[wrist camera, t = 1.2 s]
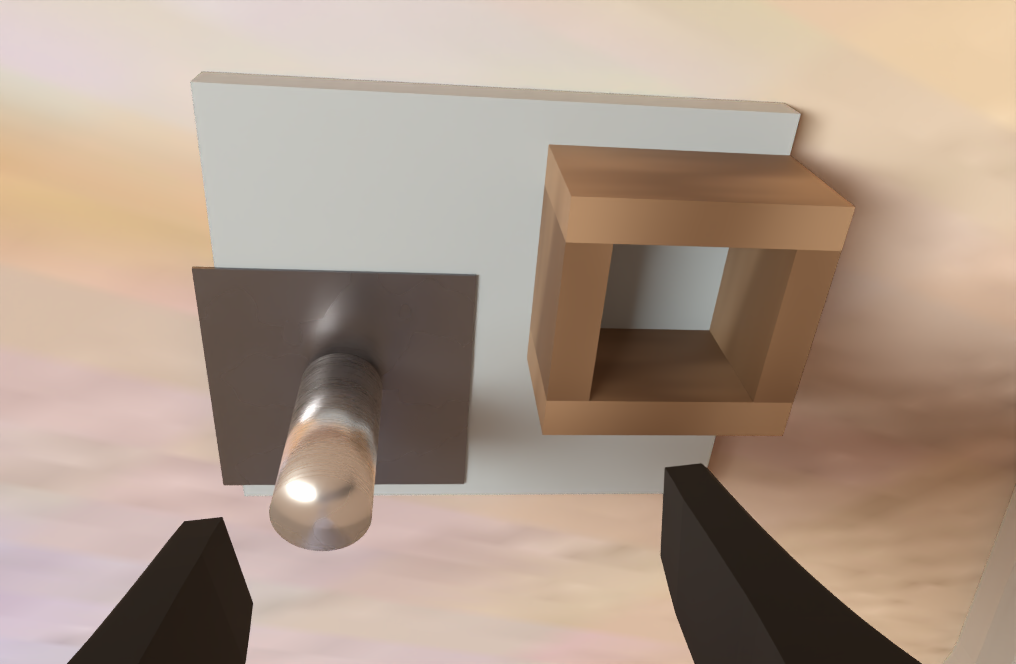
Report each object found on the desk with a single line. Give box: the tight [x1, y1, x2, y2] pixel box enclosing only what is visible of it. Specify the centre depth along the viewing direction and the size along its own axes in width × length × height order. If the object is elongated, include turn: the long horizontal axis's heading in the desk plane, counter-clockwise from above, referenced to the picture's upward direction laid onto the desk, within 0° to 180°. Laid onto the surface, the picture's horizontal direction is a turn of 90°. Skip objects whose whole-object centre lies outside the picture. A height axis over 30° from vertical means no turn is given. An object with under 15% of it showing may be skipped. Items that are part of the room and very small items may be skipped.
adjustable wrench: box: [943, 485, 1016, 664], centre depth 29 cm, size 25×6×2 cm, turn 178°
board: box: [190, 72, 801, 496], centre depth 21 cm, size 14×12×1 cm
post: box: [192, 267, 477, 551], centre depth 19 cm, size 7×7×5 cm
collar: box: [527, 144, 855, 436], centre depth 19 cm, size 6×6×3 cm
